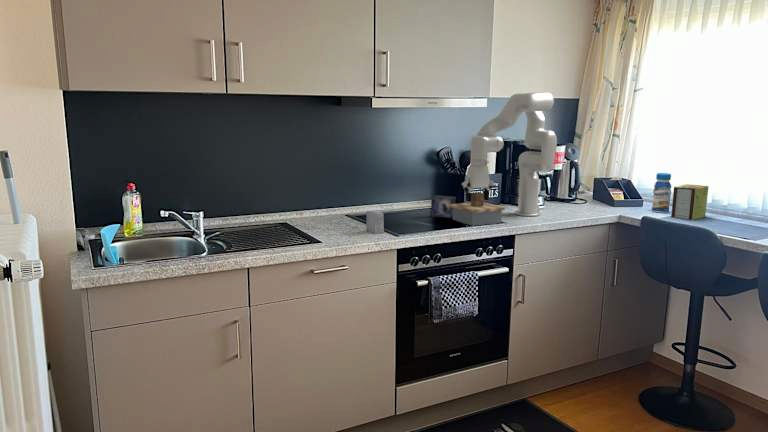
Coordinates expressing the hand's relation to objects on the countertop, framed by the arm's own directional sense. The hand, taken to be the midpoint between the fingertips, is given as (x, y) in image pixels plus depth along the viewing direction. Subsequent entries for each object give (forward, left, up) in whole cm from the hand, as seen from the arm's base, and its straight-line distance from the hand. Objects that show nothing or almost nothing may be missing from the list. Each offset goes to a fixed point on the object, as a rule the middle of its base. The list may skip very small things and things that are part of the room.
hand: (477, 200), depth 267 cm
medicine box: (+51, -3, -11) cm, 52 cm away
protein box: (-106, +31, -11) cm, 111 cm away
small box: (+7, -18, -11) cm, 22 cm away
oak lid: (0, 0, -4) cm, 4 cm away
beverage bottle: (-106, +15, -11) cm, 108 cm away
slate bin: (0, 0, -11) cm, 11 cm away
